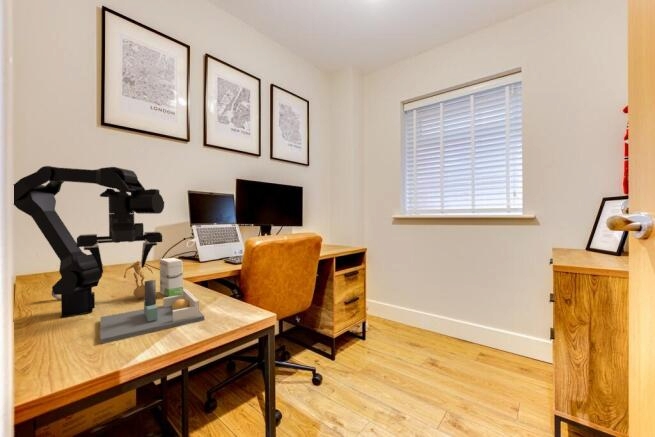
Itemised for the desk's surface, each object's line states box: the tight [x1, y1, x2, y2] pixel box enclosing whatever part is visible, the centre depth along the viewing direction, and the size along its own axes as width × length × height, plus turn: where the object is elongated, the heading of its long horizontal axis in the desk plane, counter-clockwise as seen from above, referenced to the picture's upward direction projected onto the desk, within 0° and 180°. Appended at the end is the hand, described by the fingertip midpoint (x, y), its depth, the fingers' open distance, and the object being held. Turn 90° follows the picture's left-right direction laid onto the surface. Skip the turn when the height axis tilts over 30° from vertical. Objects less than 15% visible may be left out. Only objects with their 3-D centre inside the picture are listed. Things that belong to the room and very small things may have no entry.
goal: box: [162, 288, 200, 322], centre depth 77 cm, size 6×14×4 cm, turn 39°
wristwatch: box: [51, 289, 61, 301], centre depth 90 cm, size 6×3×5 cm, turn 101°
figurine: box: [123, 260, 154, 299], centre depth 91 cm, size 8×6×12 cm
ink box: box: [159, 257, 184, 297], centre depth 96 cm, size 9×5×12 cm, turn 48°
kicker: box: [143, 279, 158, 322], centre depth 72 cm, size 2×8×9 cm, turn 39°
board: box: [100, 305, 205, 344], centre depth 72 cm, size 21×16×1 cm
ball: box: [172, 299, 189, 310], centre depth 77 cm, size 4×4×4 cm
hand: (122, 269), depth 78 cm, fingers open, 9 cm apart
